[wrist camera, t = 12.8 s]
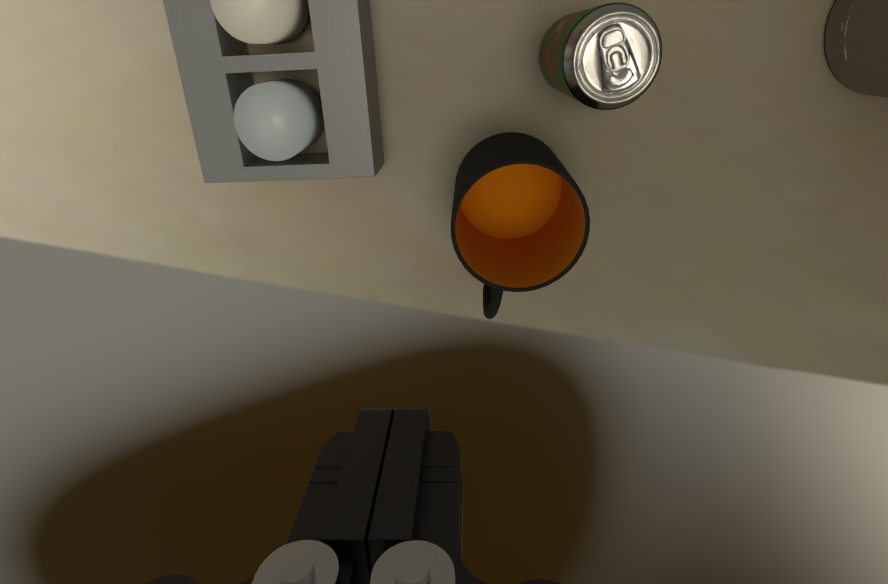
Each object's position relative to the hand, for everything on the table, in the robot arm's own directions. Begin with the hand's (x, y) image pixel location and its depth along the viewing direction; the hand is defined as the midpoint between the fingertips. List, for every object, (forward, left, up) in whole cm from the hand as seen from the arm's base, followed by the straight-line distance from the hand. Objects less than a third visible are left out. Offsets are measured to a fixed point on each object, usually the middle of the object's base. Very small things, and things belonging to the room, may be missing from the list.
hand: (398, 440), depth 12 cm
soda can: (-9, -7, -32) cm, 34 cm away
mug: (-4, +4, -32) cm, 33 cm away
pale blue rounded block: (+11, -4, -30) cm, 32 cm away
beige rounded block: (+11, -11, -30) cm, 34 cm away
